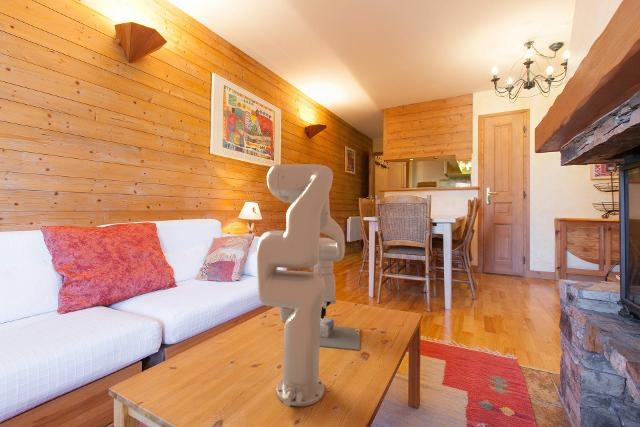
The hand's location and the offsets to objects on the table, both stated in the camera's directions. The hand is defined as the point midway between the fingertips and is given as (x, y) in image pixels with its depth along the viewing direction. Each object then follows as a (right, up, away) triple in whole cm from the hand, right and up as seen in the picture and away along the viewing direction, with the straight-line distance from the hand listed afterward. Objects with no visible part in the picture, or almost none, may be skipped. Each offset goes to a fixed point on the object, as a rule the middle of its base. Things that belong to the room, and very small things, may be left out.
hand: (321, 317), depth 113 cm
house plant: (-15, -6, +12) cm, 20 cm away
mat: (+3, -7, -2) cm, 8 cm away
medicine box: (+4, -4, 0) cm, 6 cm away
